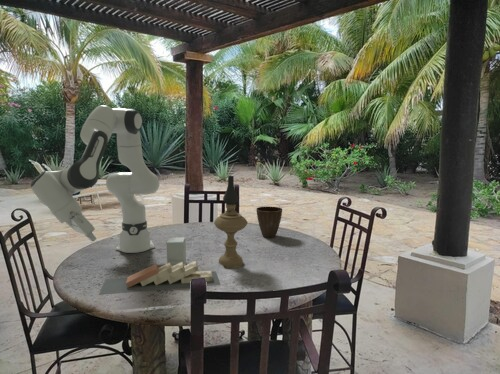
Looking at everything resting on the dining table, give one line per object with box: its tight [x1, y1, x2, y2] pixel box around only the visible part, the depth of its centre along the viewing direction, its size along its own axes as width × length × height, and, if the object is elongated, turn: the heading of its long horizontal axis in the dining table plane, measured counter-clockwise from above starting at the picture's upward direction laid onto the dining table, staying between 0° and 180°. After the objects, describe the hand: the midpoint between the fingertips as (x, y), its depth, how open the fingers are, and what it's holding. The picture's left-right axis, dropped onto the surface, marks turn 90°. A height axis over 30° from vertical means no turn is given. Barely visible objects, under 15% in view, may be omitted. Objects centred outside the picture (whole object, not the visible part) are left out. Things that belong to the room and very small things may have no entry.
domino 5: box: [181, 270, 212, 283], centre depth 145 cm, size 6×2×12 cm
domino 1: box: [126, 263, 159, 288], centre depth 140 cm, size 6×2×12 cm
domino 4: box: [168, 260, 199, 284], centre depth 143 cm, size 6×2×12 cm
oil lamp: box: [213, 175, 248, 269], centre depth 162 cm, size 15×15×40 cm
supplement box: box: [165, 237, 187, 266], centre depth 159 cm, size 7×7×13 cm
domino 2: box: [140, 262, 172, 286], centre depth 141 cm, size 6×2×12 cm
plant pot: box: [255, 206, 283, 239], centre depth 209 cm, size 15×15×16 cm
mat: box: [98, 270, 221, 295], centre depth 142 cm, size 14×44×1 cm, turn 103°
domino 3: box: [154, 262, 185, 285], centre depth 142 cm, size 6×2×12 cm
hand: (94, 240), depth 136 cm, fingers closed
